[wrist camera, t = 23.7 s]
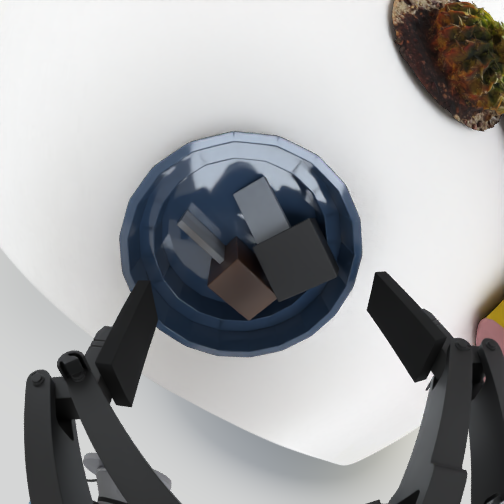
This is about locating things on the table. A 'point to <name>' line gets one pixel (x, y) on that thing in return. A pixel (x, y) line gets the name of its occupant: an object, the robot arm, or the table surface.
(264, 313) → the bowl
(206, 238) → the blade walnut
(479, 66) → the cactus
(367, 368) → the table surface
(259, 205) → the cube with grey tab
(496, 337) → the alarm clock
